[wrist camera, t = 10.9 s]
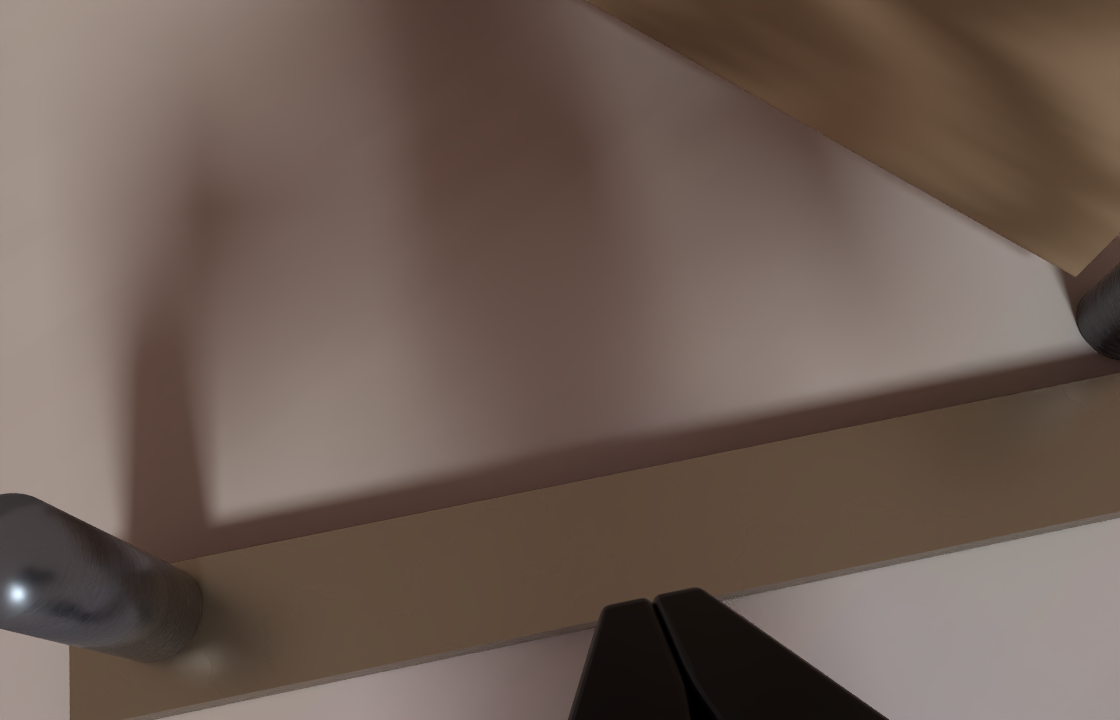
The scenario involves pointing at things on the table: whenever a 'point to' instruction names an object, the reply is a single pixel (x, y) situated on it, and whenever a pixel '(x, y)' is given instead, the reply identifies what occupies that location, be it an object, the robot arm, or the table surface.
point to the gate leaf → (938, 97)
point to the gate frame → (558, 549)
